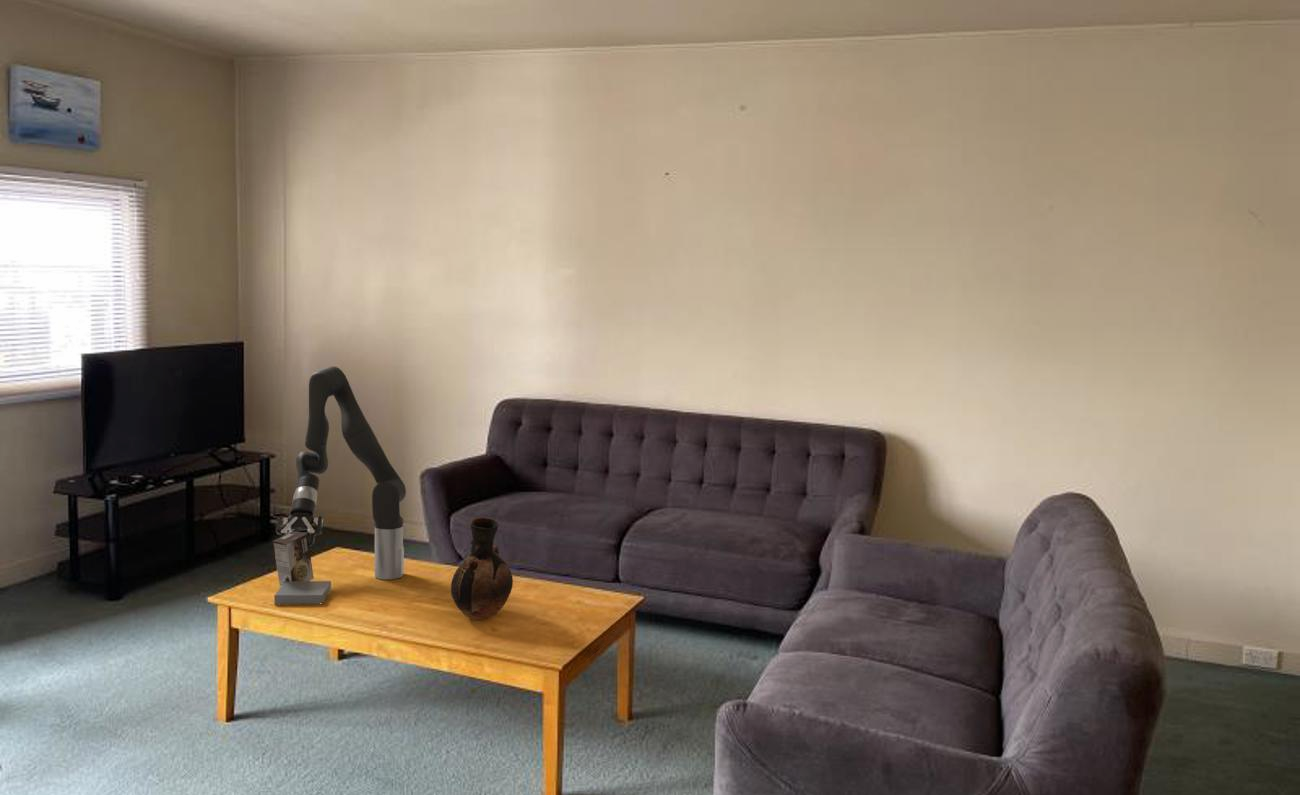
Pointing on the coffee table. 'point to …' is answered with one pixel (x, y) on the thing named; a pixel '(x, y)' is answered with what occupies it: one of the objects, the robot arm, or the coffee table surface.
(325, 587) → the plinth
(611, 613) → the coffee table surface
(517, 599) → the coffee table surface
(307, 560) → the coffee box
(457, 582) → the ceramic vessel
